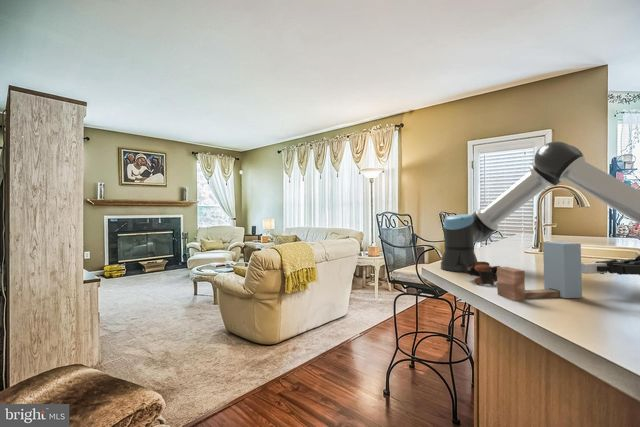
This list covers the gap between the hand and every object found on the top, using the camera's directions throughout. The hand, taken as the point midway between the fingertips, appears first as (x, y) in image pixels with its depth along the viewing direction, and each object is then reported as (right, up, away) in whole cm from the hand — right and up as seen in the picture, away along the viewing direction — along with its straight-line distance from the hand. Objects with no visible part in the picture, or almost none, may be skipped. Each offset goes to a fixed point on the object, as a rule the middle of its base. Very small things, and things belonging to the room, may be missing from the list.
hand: (583, 268), depth 87 cm
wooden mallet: (-13, -8, -1) cm, 15 cm away
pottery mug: (-19, -8, +18) cm, 27 cm away
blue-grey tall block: (-6, -8, 0) cm, 10 cm away
